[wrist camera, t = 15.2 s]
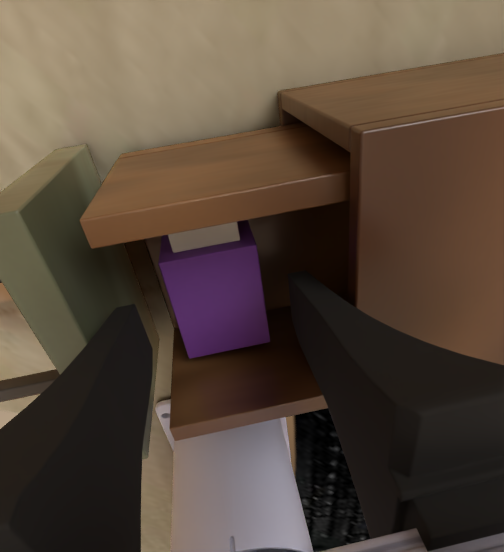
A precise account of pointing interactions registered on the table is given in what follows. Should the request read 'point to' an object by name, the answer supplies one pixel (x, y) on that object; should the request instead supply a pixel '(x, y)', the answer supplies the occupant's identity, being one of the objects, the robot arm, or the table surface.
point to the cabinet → (422, 196)
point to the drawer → (151, 227)
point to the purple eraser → (215, 288)
